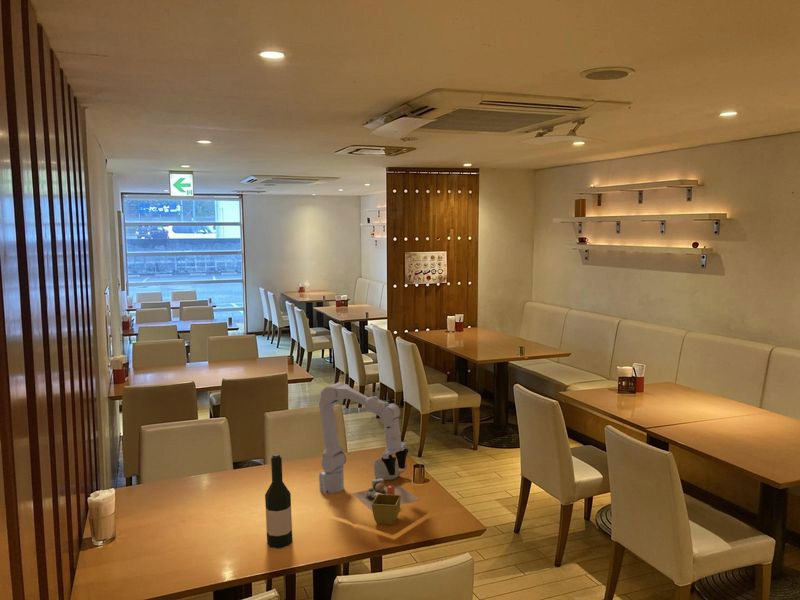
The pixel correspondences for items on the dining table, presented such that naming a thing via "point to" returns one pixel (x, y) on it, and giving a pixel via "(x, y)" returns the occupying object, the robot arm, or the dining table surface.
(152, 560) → the dining table surface
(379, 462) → the teacup
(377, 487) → the walnut ball
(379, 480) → the anvil
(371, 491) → the lever
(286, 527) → the wine bottle
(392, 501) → the flower pot
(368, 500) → the bench board
